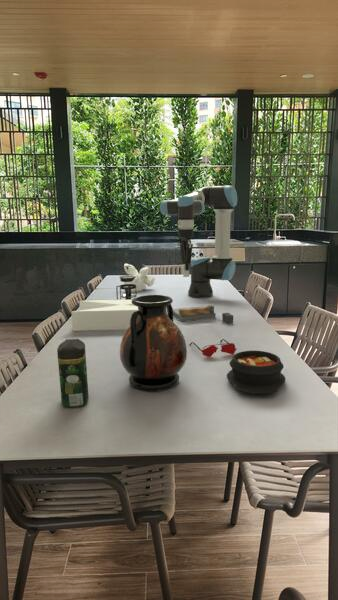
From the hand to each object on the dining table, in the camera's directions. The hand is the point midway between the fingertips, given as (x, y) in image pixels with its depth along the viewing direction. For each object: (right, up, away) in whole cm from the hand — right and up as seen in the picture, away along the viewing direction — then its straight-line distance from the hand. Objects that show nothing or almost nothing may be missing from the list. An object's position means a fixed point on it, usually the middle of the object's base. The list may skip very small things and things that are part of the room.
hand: (186, 276), depth 219 cm
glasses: (+9, -32, -45) cm, 56 cm away
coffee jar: (-36, -42, -88) cm, 104 cm away
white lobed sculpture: (-28, -5, +73) cm, 78 cm away
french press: (-31, -16, +26) cm, 44 cm away
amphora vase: (-13, -39, -75) cm, 85 cm away
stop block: (+20, -22, -8) cm, 31 cm away
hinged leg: (+5, -18, -2) cm, 19 cm away
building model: (-31, -23, -5) cm, 39 cm away
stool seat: (+4, -20, +5) cm, 21 cm away
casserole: (+20, -39, -76) cm, 88 cm away
